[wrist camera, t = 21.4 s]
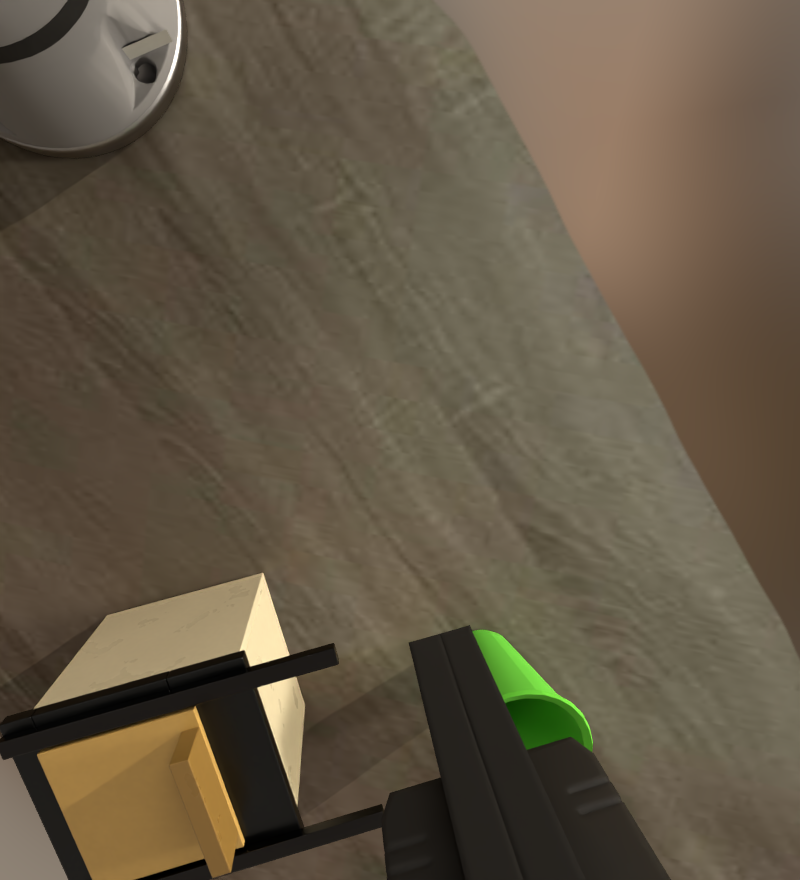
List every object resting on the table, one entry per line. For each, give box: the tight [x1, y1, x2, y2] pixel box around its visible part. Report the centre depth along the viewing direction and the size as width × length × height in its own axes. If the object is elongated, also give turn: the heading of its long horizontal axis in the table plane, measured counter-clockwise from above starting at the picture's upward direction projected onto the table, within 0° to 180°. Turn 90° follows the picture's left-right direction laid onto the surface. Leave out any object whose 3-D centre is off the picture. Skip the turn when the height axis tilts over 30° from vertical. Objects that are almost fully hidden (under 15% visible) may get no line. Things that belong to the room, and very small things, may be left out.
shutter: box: [37, 706, 245, 880], centre depth 30 cm, size 9×8×3 cm
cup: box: [472, 630, 593, 752], centre depth 40 cm, size 9×9×11 cm
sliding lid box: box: [0, 573, 384, 880], centre depth 37 cm, size 13×18×13 cm
